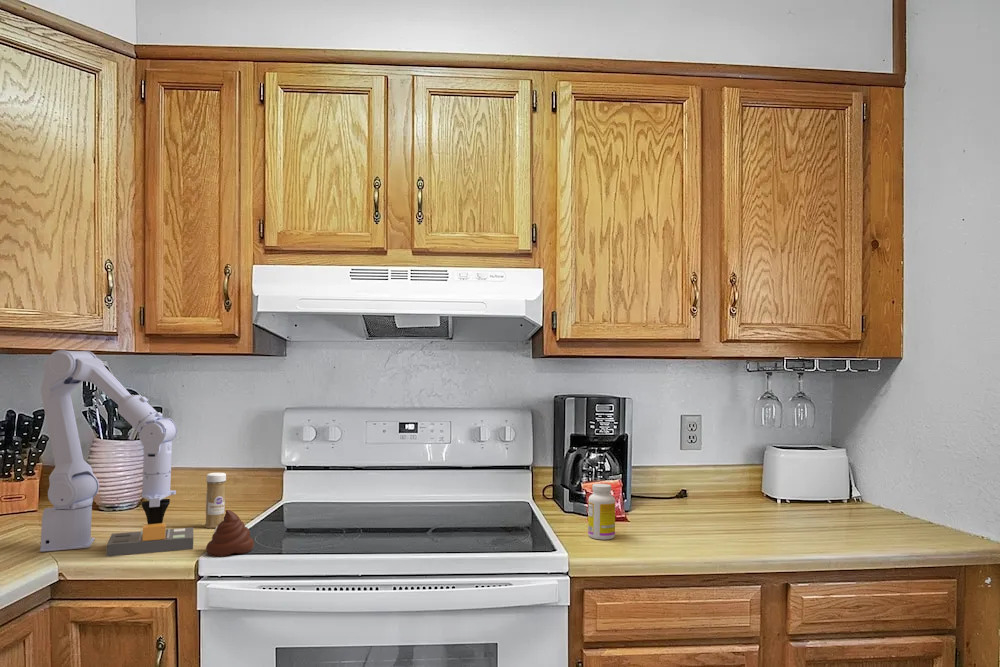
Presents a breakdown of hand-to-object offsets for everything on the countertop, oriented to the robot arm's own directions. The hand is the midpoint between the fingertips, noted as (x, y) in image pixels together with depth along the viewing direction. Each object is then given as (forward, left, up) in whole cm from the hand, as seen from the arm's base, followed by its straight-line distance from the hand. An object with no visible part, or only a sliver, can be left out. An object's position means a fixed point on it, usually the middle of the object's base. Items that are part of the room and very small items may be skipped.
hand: (154, 533), depth 155 cm
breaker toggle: (0, -2, -1) cm, 3 cm away
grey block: (0, +1, -3) cm, 3 cm away
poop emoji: (+16, -9, -3) cm, 18 cm away
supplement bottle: (+101, -27, -3) cm, 105 cm away
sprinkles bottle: (+13, +16, -3) cm, 21 cm away
